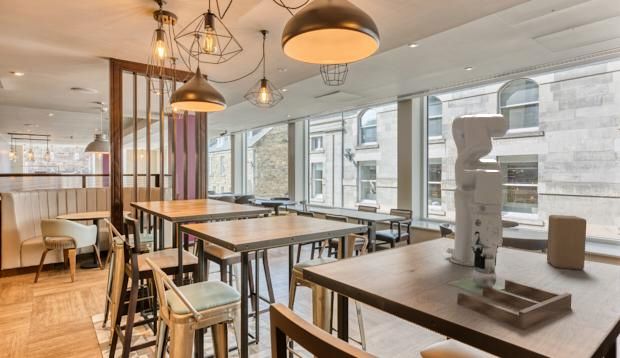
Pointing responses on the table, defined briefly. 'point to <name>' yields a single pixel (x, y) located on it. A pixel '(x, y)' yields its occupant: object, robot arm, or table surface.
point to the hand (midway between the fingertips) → (485, 265)
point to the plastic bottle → (487, 267)
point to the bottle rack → (518, 304)
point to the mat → (471, 285)
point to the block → (566, 241)
